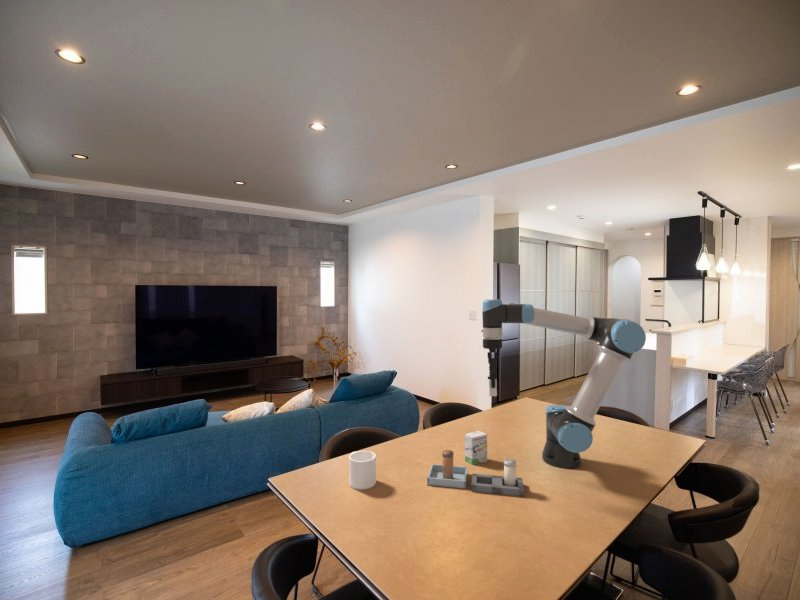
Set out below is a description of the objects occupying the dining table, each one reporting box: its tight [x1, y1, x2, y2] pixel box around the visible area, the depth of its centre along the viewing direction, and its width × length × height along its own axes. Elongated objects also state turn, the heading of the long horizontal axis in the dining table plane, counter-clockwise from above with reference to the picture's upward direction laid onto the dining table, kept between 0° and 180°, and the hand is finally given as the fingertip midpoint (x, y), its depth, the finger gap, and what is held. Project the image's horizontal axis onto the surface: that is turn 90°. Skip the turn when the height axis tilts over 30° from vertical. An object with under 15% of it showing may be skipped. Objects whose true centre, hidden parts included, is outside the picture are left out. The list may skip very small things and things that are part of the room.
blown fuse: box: [441, 449, 454, 480], centre depth 145 cm, size 4×4×10 cm
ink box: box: [464, 430, 488, 466], centre depth 161 cm, size 8×5×12 cm, turn 120°
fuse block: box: [470, 473, 525, 498], centre depth 138 cm, size 18×9×3 cm, turn 77°
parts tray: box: [426, 463, 469, 490], centre depth 145 cm, size 14×12×3 cm
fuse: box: [503, 458, 517, 487], centre depth 137 cm, size 4×4×10 cm
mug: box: [348, 450, 377, 491], centre depth 144 cm, size 13×10×10 cm
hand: (492, 391), depth 152 cm, fingers open, 13 cm apart
